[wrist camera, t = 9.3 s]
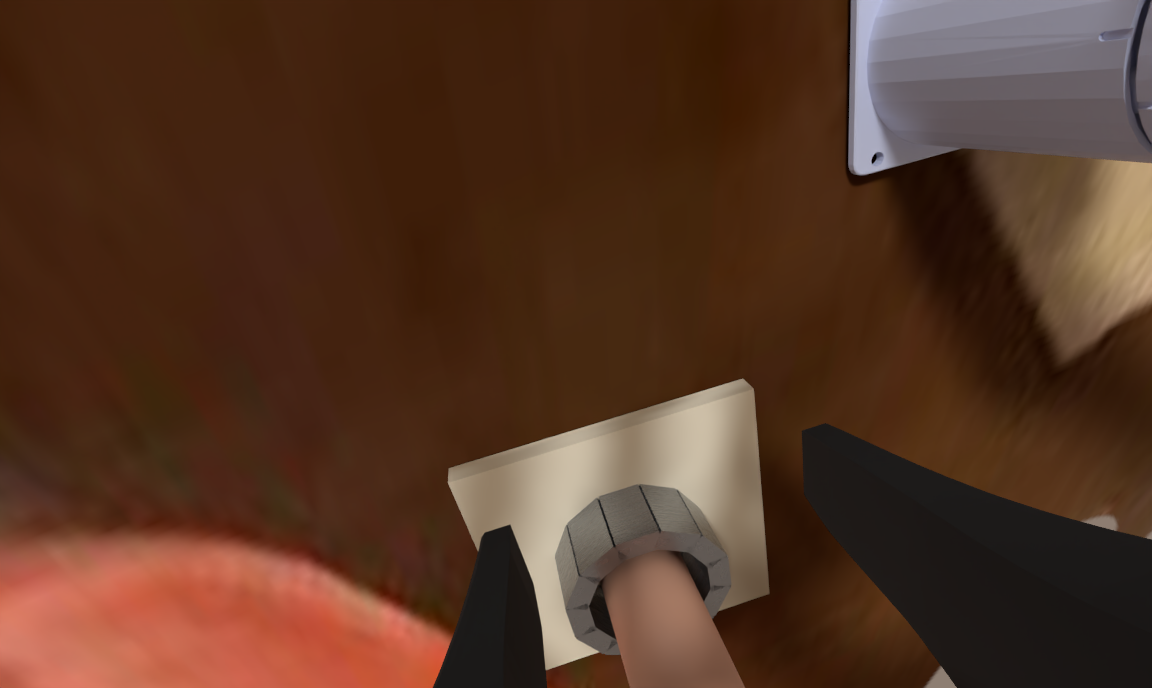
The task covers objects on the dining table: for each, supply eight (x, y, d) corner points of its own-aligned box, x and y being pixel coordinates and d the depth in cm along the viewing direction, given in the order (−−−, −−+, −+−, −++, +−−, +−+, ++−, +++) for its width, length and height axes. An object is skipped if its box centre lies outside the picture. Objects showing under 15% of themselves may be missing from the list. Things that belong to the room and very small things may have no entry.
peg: (646, 500, 25) (720, 660, 17) (683, 546, 26) (764, 709, 19) (577, 544, 25) (622, 719, 18) (617, 587, 27) (673, 762, 20)
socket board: (743, 378, 24) (791, 425, 20) (760, 579, 30) (800, 642, 27) (448, 468, 23) (445, 534, 19) (529, 657, 29) (539, 734, 26)
